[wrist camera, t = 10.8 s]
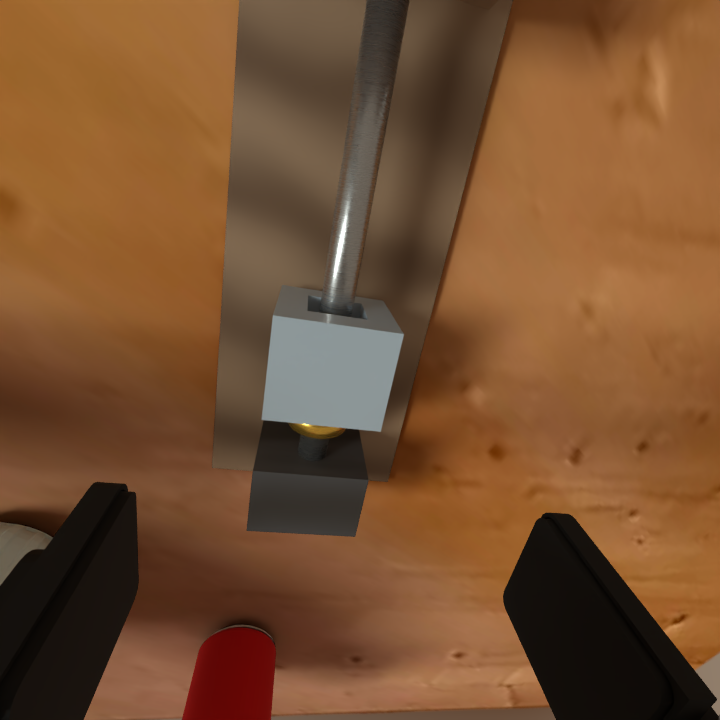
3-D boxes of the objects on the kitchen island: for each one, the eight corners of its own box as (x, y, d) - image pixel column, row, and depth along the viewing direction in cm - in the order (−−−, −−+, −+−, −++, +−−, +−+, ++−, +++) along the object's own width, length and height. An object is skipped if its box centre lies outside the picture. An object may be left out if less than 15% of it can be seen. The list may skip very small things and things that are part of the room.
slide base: (254, -230, 15) (212, -531, 9) (542, -125, 17) (677, -307, 11) (213, 464, 27) (182, 550, 21) (386, 478, 29) (407, 560, 23)
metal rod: (354, -75, 15) (363, -135, 13) (433, -50, 16) (460, -103, 13) (279, 474, 25) (275, 512, 22) (330, 478, 26) (333, 516, 23)
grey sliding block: (282, 284, 22) (273, 315, 17) (383, 300, 23) (404, 334, 18) (272, 369, 24) (261, 419, 18) (366, 380, 25) (380, 431, 19)
